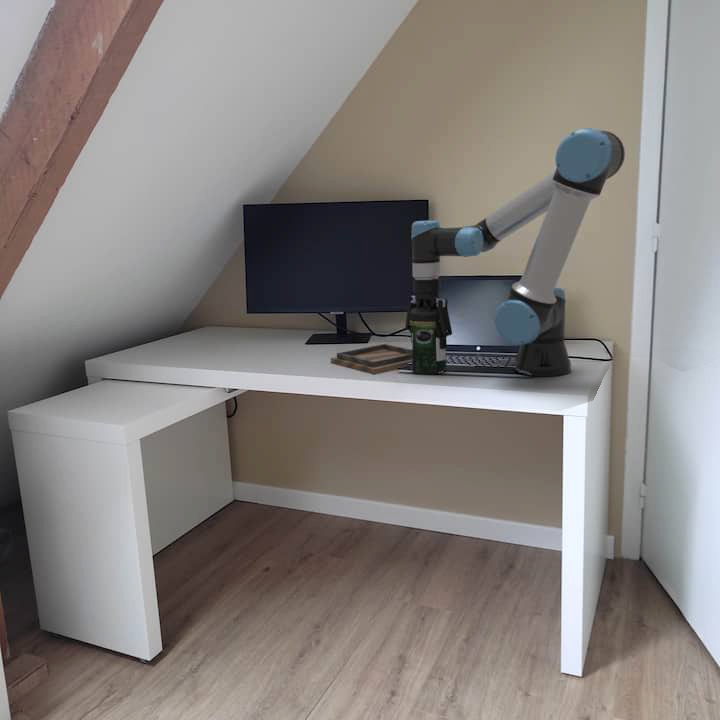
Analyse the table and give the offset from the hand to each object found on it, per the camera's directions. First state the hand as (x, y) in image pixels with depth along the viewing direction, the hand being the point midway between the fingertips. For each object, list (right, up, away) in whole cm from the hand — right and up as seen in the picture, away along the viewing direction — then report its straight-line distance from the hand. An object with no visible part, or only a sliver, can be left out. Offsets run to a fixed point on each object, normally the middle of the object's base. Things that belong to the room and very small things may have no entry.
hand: (428, 357), depth 205 cm
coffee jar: (0, -4, +1) cm, 4 cm away
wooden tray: (-13, -1, +16) cm, 21 cm away
